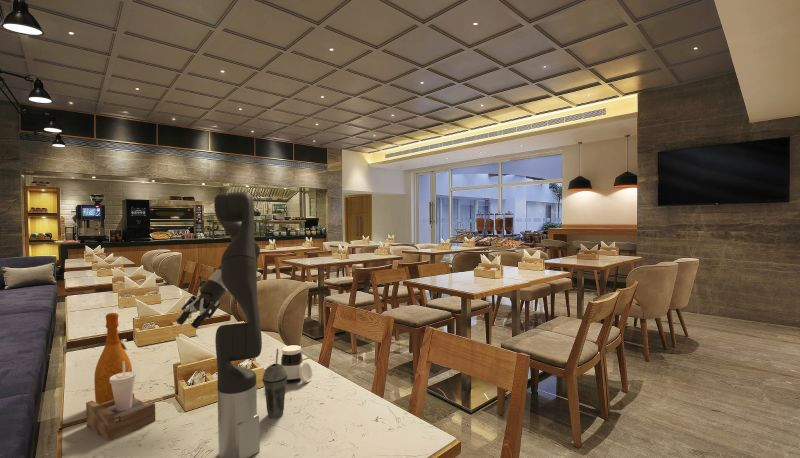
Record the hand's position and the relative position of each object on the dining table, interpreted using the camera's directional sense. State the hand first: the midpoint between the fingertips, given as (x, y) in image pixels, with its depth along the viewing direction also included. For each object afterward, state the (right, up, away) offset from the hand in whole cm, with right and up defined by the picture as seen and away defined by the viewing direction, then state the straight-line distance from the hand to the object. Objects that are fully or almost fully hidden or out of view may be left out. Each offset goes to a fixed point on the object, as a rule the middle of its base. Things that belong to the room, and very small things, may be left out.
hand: (186, 325), depth 127 cm
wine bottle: (-23, -26, -1) cm, 34 cm away
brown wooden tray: (-12, -26, -13) cm, 31 cm away
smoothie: (-12, -22, -12) cm, 27 cm away
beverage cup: (+32, -26, -8) cm, 42 cm away
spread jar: (+32, -25, +18) cm, 44 cm away
